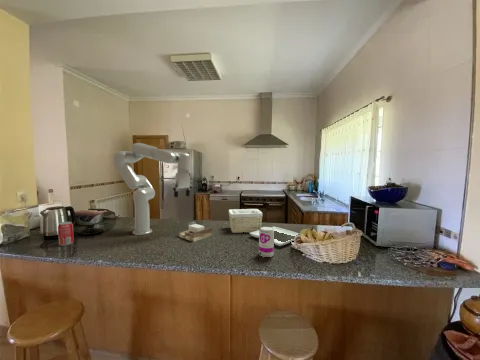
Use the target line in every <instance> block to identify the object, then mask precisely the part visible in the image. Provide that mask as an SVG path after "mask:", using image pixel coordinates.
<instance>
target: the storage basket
mask: <svg viewBox="0 0 480 360" xmlns="http://www.w3.org/2000/svg"><path fill="white" fill-rule="evenodd" d="M228 215H229V217H228V218H229V227H230V228H231V229H230V231H231V233H233V234H238V233H239V234H240V233H243V232H244V233H251V232H254V231H258V230H260V228H261V227H262V221H263V220H262V219H263V212H262V211H261V210H259V209H258V208H246V209H245V208H244V209H243V208H241V209H239V208H238V209H237V208H234V209H232V208H231V209H228ZM244 233H243V234H244Z"/></svg>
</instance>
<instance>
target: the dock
mask: <svg viewBox="0 0 480 360" xmlns="http://www.w3.org/2000/svg"><path fill="white" fill-rule="evenodd" d="M212 231H213V228H212V227H205V226H204V230H201V231H198V232H192V233H190V232H189V229H186V230H183V231H180V232H177V237H179V238H181V239H183V240H188V241H189V242H194V243H195V242H197V241H201V240H203V239H207V238H209V237H212V236H213V235H212V234H213V232H212Z"/></svg>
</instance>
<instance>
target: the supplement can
mask: <svg viewBox="0 0 480 360" xmlns="http://www.w3.org/2000/svg"><path fill="white" fill-rule="evenodd" d="M271 227H272V226H261V228H260V230H259V239H258V255H259V256H260V257H261V256H262V257H261V258H264V257H270V258H272V257H273V256H274V255H275V254H274V252H275V245H274V230H273V228H271Z"/></svg>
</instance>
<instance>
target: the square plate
mask: <svg viewBox="0 0 480 360" xmlns="http://www.w3.org/2000/svg"><path fill="white" fill-rule="evenodd" d="M270 227H271V228H273V230H274V231H277V232H279V233H284V234H287V235H291V236H296V235H298V234H300V233H299V232H296V231H291V230H289V229H287V228H282V227H277V226H270ZM249 234H250V236H252V237H253V238H257V239H258V238H259V230H258V231H254V232H249ZM292 241H294V239H291V240H288V241H286V242H281V241H278V240H277V239H274V244H275V245H274V246H277V247H282V246H284V245H287V244H290V242H291V243H293V242H292ZM294 242H295V241H294Z"/></svg>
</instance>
